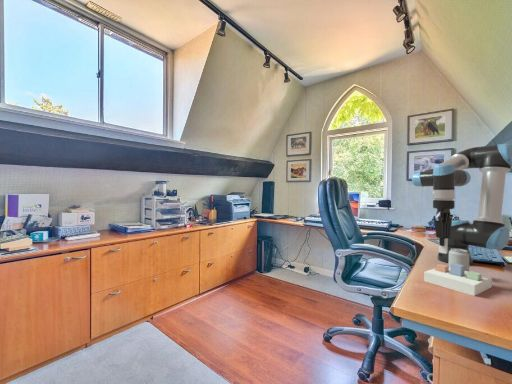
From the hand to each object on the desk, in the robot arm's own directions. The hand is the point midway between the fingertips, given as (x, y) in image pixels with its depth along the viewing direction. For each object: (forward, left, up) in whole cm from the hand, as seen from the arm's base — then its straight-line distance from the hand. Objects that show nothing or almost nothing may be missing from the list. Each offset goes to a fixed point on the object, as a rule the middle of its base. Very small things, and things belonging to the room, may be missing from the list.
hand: (443, 252), depth 107 cm
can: (-13, +1, -12) cm, 18 cm away
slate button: (+1, +5, -9) cm, 10 cm away
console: (+1, +5, -12) cm, 13 cm away
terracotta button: (+1, 0, -11) cm, 11 cm away
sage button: (+1, +11, -11) cm, 15 cm away
